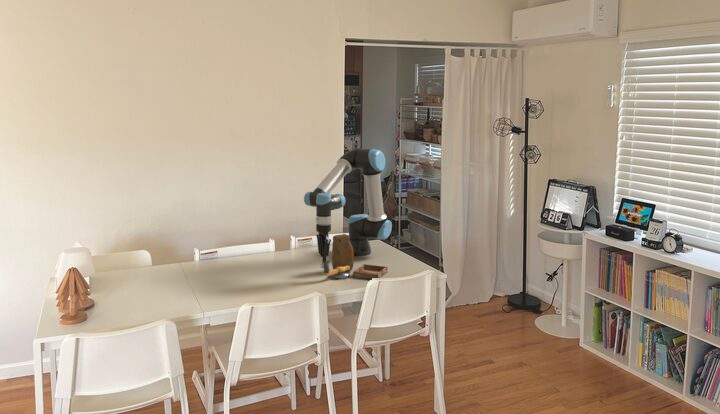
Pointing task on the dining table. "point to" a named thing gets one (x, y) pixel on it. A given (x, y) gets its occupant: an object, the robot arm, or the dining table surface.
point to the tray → (370, 271)
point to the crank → (334, 271)
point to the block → (342, 252)
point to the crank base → (341, 275)
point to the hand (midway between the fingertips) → (323, 267)
